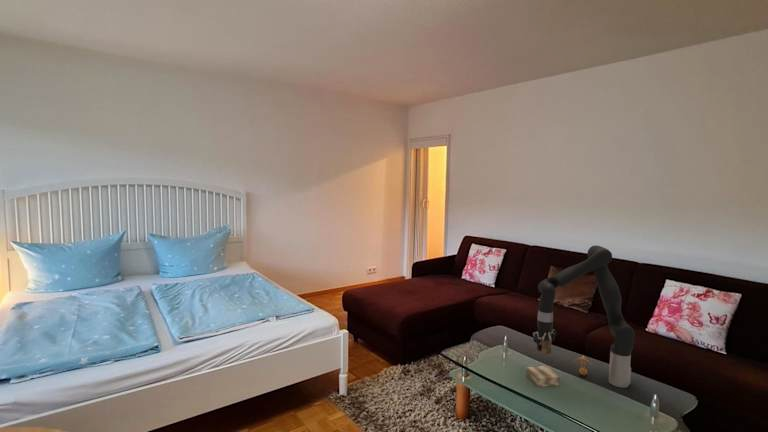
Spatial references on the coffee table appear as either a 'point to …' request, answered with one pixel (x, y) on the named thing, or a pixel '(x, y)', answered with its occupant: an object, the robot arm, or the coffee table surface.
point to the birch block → (542, 376)
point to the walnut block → (545, 346)
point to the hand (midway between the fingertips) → (543, 349)
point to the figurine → (583, 370)
